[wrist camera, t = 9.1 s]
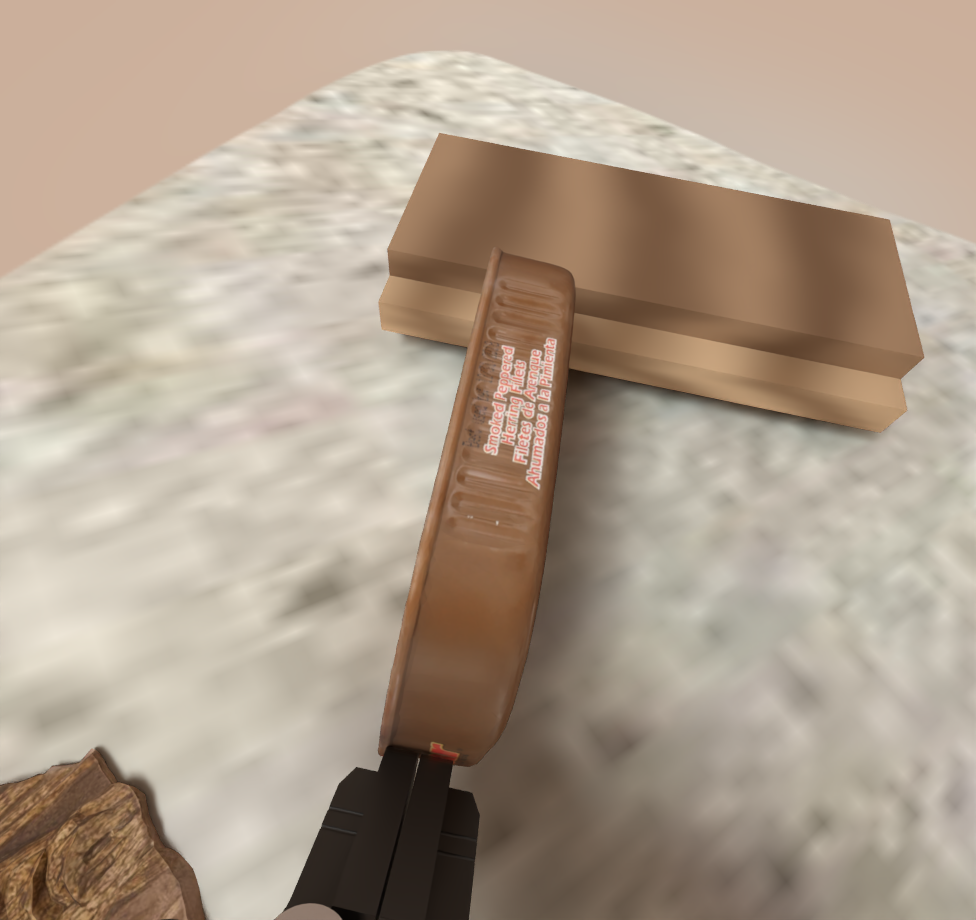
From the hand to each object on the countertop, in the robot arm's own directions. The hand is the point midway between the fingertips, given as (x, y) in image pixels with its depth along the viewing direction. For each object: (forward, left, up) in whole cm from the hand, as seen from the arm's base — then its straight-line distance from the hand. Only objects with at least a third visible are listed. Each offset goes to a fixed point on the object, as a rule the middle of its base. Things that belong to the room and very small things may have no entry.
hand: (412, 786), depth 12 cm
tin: (0, -8, -5) cm, 9 cm away
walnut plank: (-4, -21, -4) cm, 22 cm away
